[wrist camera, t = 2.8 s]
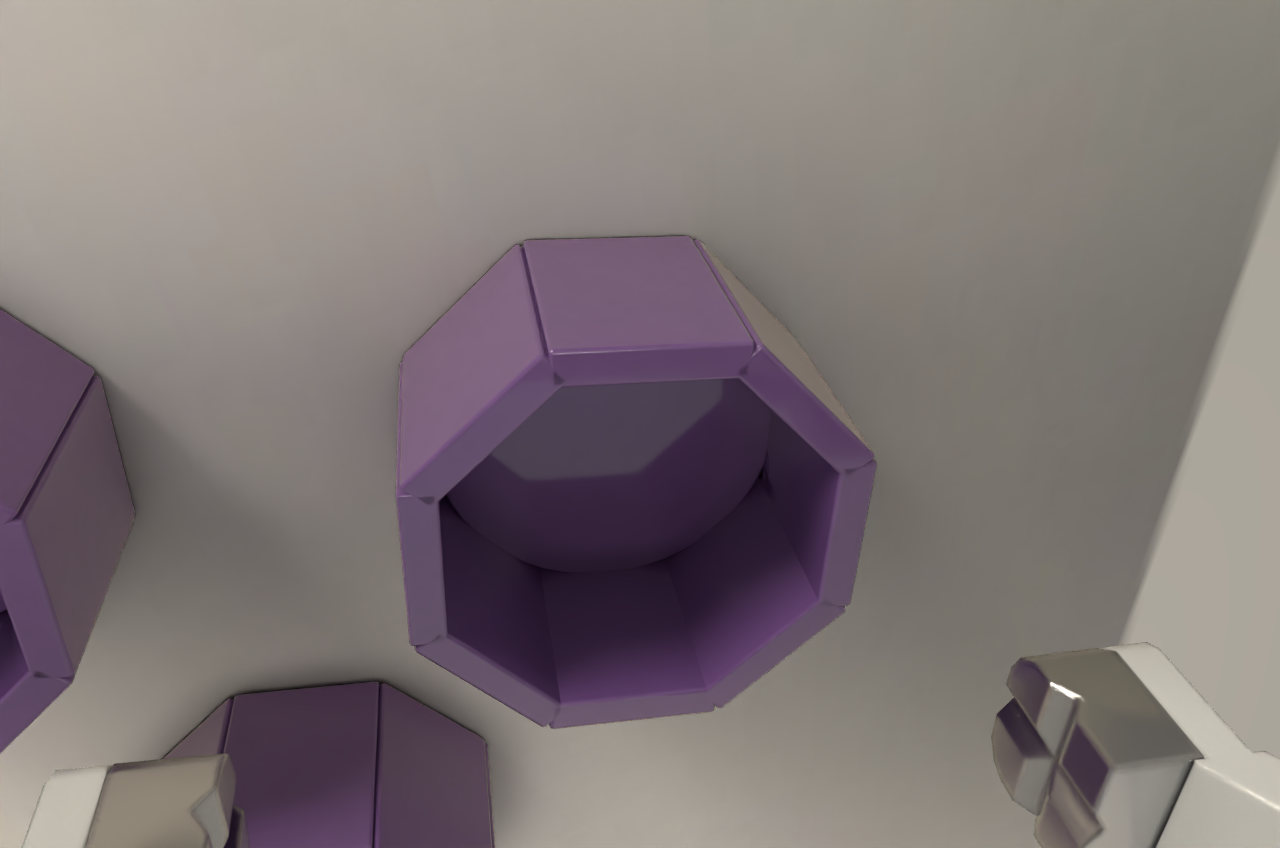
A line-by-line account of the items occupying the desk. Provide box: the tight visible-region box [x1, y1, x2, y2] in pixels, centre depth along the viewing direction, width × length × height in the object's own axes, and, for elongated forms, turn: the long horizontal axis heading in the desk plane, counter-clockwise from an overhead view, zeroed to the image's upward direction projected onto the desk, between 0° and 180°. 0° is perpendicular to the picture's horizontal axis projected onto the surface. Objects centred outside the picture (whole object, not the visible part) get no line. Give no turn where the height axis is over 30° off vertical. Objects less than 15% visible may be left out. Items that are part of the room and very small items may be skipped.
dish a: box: [395, 236, 877, 729], centre depth 15 cm, size 6×6×3 cm
